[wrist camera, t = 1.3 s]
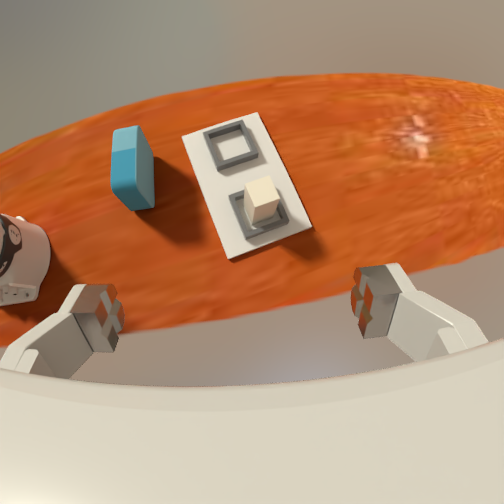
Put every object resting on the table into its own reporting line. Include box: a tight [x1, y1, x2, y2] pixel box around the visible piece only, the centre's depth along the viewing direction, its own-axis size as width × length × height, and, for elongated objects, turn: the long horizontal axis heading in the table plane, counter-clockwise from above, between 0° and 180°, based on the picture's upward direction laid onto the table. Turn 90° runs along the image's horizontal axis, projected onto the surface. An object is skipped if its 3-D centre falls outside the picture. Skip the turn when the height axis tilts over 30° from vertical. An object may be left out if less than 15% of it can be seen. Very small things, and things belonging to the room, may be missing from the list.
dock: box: [182, 113, 312, 260], centre depth 57 cm, size 16×26×3 cm, turn 22°
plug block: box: [244, 175, 280, 225], centre depth 52 cm, size 4×4×10 cm
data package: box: [111, 125, 155, 211], centre depth 52 cm, size 12×4×12 cm, turn 8°
